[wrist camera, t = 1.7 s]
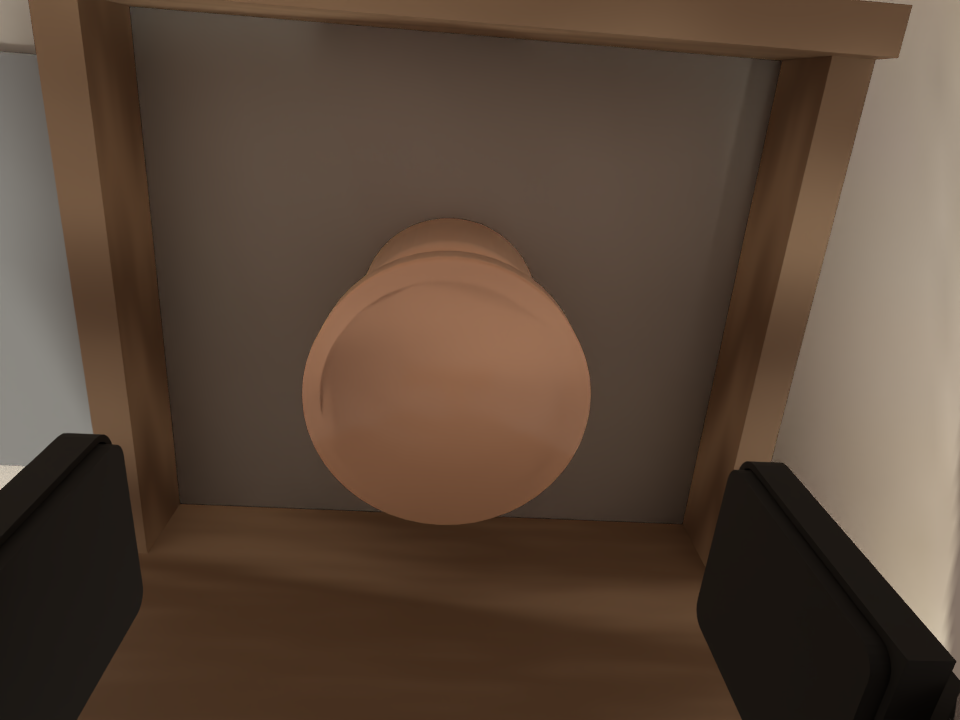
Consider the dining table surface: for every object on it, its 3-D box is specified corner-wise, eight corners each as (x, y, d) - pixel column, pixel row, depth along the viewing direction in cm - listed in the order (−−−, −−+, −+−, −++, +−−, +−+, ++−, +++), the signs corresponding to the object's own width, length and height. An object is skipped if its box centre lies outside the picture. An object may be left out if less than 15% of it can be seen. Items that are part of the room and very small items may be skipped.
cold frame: (706, 550, 28) (1093, 1251, 11) (151, 529, 26) (-376, 1290, 10) (829, 20, 21) (2442, -285, 4) (80, -45, 19) (-2344, -938, 3)
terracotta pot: (536, 399, 25) (572, 529, 18) (349, 390, 25) (305, 519, 17) (557, 213, 23) (609, 272, 15) (350, 198, 22) (298, 253, 15)
